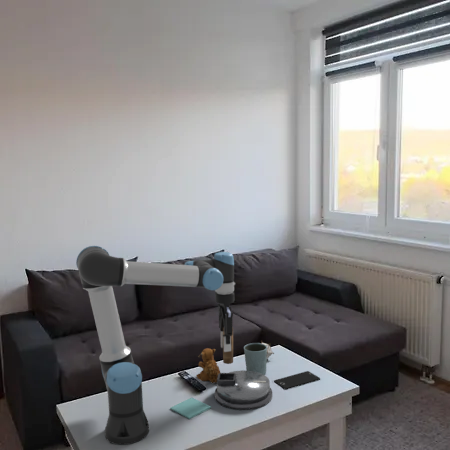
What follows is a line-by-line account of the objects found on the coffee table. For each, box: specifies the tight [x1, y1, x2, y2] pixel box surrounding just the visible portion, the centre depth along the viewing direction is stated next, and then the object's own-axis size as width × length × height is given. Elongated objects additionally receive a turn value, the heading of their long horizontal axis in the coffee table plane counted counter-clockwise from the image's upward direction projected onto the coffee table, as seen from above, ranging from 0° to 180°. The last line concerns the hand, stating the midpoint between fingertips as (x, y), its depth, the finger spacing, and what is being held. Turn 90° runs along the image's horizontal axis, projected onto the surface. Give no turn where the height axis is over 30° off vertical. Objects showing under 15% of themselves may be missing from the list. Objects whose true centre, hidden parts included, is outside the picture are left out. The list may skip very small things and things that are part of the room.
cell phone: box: [274, 370, 321, 391], centre depth 212 cm, size 9×18×1 cm, turn 118°
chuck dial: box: [216, 370, 271, 404], centre depth 199 cm, size 21×21×6 cm
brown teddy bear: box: [196, 347, 222, 384], centre depth 214 cm, size 10×14×13 cm
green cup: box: [243, 342, 268, 376], centre depth 219 cm, size 10×10×12 cm
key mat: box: [169, 397, 212, 420], centre depth 190 cm, size 11×11×1 cm
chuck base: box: [214, 387, 273, 411], centre depth 200 cm, size 23×23×2 cm
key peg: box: [222, 327, 234, 365], centre depth 199 cm, size 4×4×14 cm
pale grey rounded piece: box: [261, 340, 275, 360], centre depth 234 cm, size 9×8×10 cm
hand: (225, 349), depth 199 cm, fingers closed on key peg, 4 cm apart
